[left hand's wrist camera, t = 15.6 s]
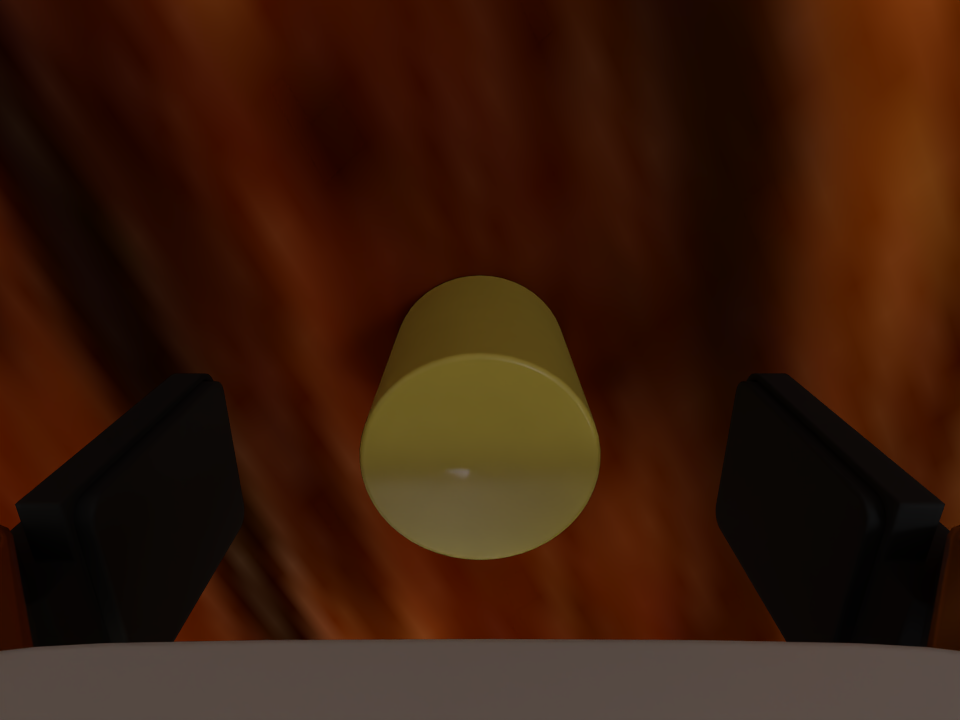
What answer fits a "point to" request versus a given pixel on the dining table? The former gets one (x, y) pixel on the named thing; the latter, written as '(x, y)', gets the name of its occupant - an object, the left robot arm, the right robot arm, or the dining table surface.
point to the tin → (480, 424)
